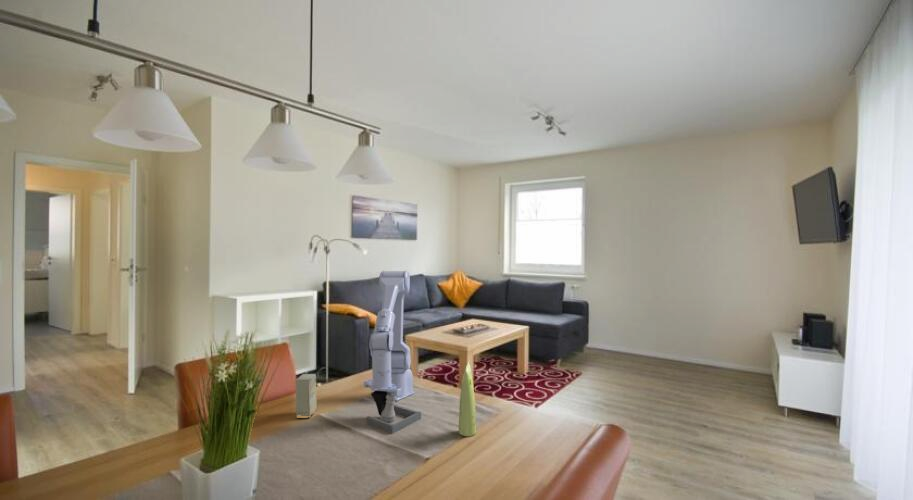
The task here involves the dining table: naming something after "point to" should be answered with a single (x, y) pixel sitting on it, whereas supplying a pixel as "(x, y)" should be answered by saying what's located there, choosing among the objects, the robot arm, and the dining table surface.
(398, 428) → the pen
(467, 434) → the light green tall cone
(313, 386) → the skincare box
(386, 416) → the rook chess piece
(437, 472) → the dining table surface
